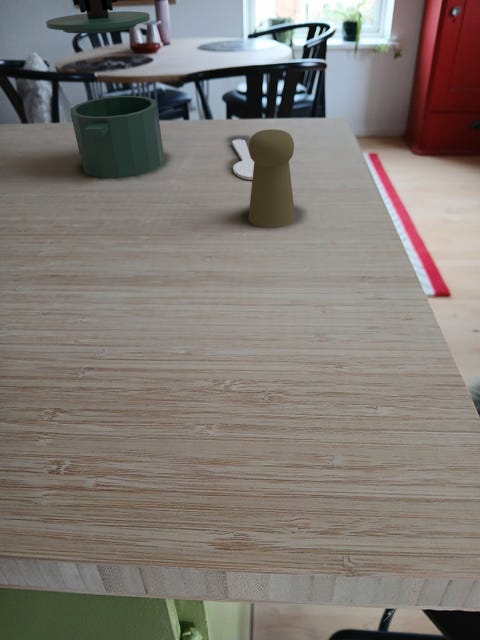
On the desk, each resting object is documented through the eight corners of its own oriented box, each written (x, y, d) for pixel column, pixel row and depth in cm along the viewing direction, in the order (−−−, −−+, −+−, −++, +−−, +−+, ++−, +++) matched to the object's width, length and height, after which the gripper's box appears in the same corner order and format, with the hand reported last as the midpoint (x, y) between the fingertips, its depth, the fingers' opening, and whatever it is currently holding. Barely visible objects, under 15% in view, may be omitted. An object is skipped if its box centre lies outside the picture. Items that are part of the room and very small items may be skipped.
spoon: (253, 140, 90) (253, 137, 90) (273, 178, 76) (273, 174, 75) (222, 143, 89) (222, 140, 89) (237, 181, 75) (236, 177, 75)
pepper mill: (260, 236, 61) (258, 143, 55) (240, 217, 66) (236, 129, 59) (304, 225, 63) (308, 134, 56) (282, 207, 68) (282, 121, 61)
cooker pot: (65, 190, 76) (48, 124, 70) (106, 149, 90) (95, 92, 84) (147, 191, 74) (136, 123, 68) (176, 149, 88) (169, 90, 83)
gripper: (134, -177, 61) (156, 3, 72) (-9, -174, 59) (36, 12, 70) (137, -191, 55) (160, 8, 66) (-22, -188, 53) (30, 18, 64)
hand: (96, 9), depth 68 cm, fingers closed on pot lid, 2 cm apart
